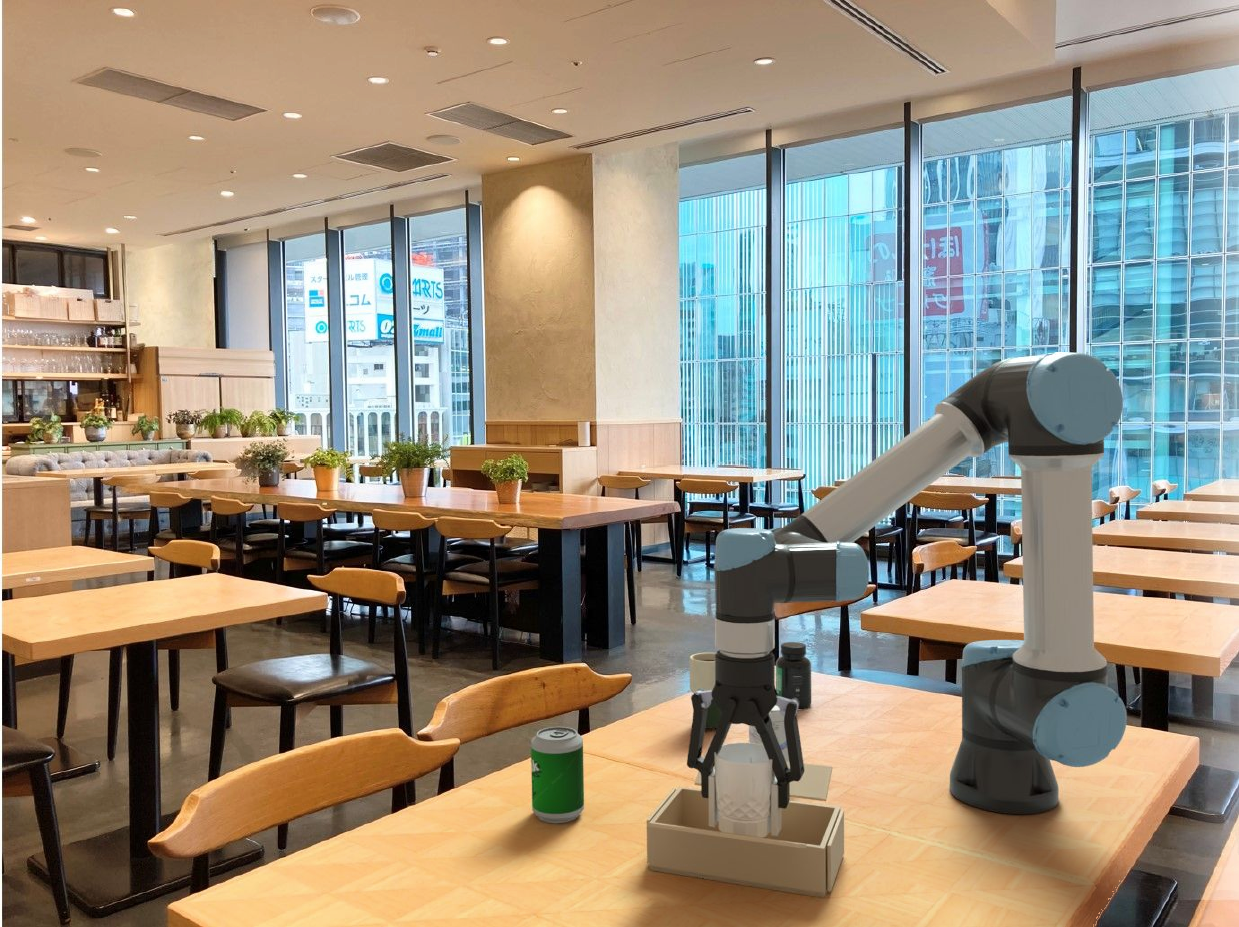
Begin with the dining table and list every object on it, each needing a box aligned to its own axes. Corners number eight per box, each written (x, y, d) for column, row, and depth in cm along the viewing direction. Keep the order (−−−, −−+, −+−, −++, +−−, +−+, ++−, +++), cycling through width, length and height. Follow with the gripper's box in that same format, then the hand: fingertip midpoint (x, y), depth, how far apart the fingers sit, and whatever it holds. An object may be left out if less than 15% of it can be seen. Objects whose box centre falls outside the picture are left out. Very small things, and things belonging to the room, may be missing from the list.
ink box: (799, 783, 153) (799, 708, 152) (770, 787, 152) (769, 711, 151) (775, 764, 161) (775, 693, 161) (747, 768, 160) (747, 696, 159)
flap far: (826, 801, 130) (832, 768, 135) (825, 799, 130) (832, 766, 135) (694, 785, 137) (705, 754, 142) (694, 782, 136) (705, 752, 141)
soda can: (593, 809, 144) (592, 728, 143) (569, 829, 137) (567, 744, 137) (548, 801, 147) (546, 722, 147) (522, 820, 140) (520, 737, 140)
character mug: (742, 732, 177) (741, 661, 177) (708, 738, 174) (707, 666, 174) (710, 716, 187) (710, 648, 186) (678, 721, 184) (677, 652, 183)
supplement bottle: (775, 709, 190) (775, 648, 190) (776, 699, 197) (775, 640, 197) (811, 711, 189) (811, 649, 189) (811, 700, 196) (810, 641, 195)
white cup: (760, 847, 121) (760, 768, 121) (703, 833, 125) (703, 756, 125) (785, 824, 128) (785, 749, 127) (730, 811, 132) (730, 738, 131)
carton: (845, 852, 129) (845, 807, 128) (829, 898, 117) (829, 849, 116) (675, 828, 137) (675, 785, 137) (644, 869, 125) (643, 822, 125)
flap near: (806, 844, 117) (797, 843, 111) (806, 848, 116) (797, 847, 111) (661, 824, 123) (646, 822, 118) (661, 827, 123) (646, 826, 118)
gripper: (830, 650, 125) (829, 826, 126) (677, 638, 133) (678, 805, 134) (820, 664, 118) (819, 851, 119) (659, 651, 125) (660, 827, 127)
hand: (745, 826), depth 127 cm, fingers closed on white cup, 7 cm apart
